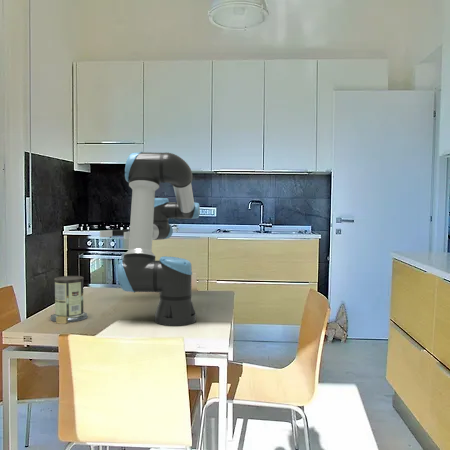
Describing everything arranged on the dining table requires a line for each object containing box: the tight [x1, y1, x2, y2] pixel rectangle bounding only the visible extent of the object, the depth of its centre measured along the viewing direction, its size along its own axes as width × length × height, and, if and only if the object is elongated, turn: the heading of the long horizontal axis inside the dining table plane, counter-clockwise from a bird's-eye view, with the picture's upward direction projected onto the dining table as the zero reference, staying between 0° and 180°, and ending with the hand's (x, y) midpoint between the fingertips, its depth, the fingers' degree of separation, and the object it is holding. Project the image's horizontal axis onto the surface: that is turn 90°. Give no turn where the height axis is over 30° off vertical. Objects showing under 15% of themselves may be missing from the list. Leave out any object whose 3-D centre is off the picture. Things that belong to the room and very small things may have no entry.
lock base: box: [50, 311, 88, 325], centre depth 174 cm, size 16×13×2 cm
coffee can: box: [54, 275, 85, 318], centre depth 173 cm, size 10×10×14 cm
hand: (112, 234), depth 191 cm, fingers open, 13 cm apart
